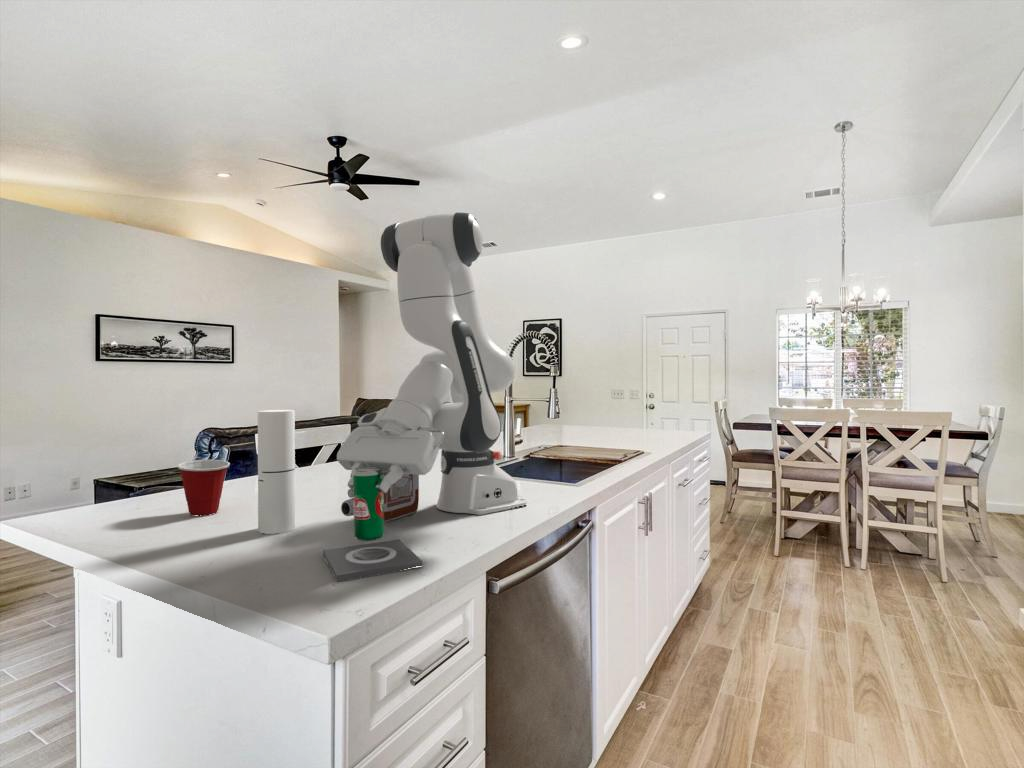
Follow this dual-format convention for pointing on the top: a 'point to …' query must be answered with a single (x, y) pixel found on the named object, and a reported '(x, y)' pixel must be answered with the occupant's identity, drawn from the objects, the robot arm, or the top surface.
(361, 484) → the soda can
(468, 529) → the top surface
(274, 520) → the cylindrical container
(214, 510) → the plastic cup
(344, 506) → the cine camera
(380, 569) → the mount plate
